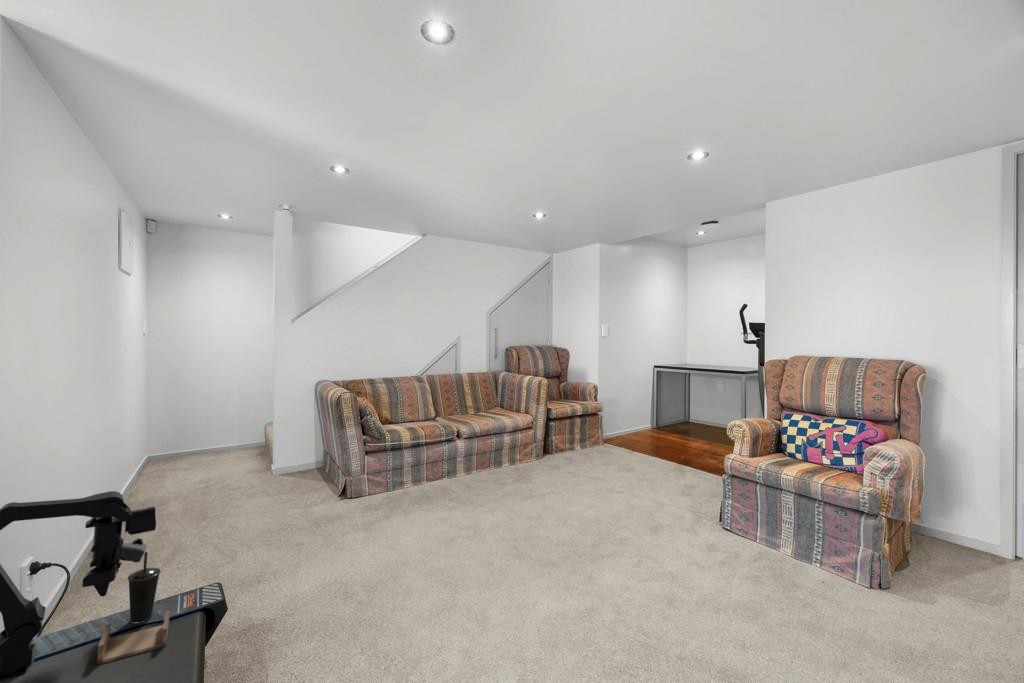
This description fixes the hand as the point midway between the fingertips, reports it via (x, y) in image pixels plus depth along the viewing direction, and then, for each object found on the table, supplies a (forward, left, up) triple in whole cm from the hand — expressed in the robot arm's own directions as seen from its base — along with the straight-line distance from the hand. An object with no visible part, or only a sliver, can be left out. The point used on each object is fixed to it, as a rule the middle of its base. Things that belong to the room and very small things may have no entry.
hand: (103, 595), depth 120 cm
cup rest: (+8, -5, -13) cm, 16 cm away
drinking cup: (+8, +8, -13) cm, 17 cm away
